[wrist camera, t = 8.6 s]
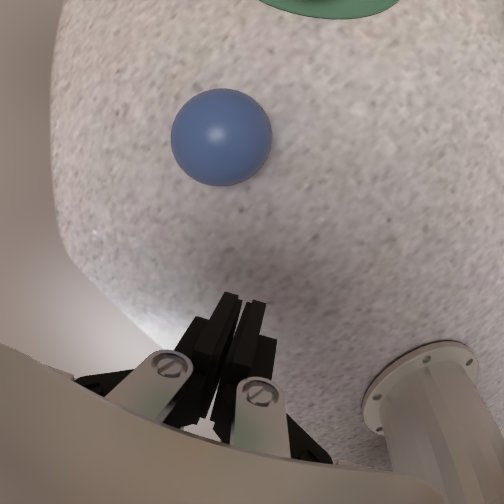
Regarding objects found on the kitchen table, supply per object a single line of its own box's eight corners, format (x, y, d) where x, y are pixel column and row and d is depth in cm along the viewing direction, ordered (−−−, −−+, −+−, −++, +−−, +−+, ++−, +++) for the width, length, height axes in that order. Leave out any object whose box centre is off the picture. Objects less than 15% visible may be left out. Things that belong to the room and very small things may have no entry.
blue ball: (252, 103, 11) (305, 122, 15) (173, 67, 13) (236, 86, 17) (201, 212, 14) (262, 200, 18) (139, 158, 15) (203, 157, 20)
